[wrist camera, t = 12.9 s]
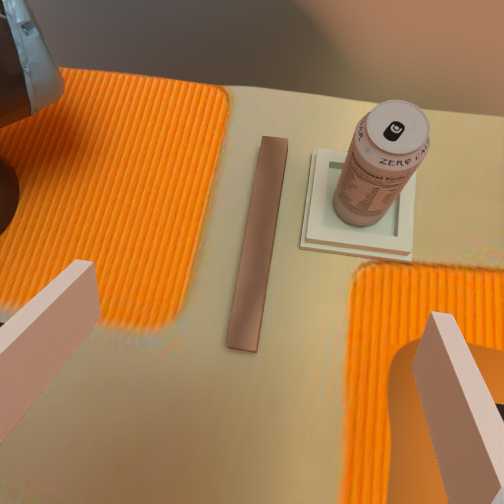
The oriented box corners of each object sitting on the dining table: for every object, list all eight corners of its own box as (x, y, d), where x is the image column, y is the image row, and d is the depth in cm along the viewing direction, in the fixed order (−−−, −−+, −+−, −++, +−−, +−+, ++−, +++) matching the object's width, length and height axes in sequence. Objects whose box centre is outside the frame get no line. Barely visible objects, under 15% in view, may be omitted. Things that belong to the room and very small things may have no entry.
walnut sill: (228, 348, 43) (225, 346, 40) (263, 149, 49) (262, 135, 46) (256, 352, 42) (255, 351, 39) (287, 152, 49) (288, 138, 46)
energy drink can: (396, 199, 45) (453, 119, 31) (366, 239, 44) (410, 175, 30) (352, 170, 47) (386, 80, 32) (321, 208, 45) (343, 133, 31)
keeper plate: (299, 248, 45) (301, 241, 43) (312, 155, 49) (314, 143, 46) (408, 263, 44) (416, 257, 42) (413, 166, 47) (421, 155, 45)
